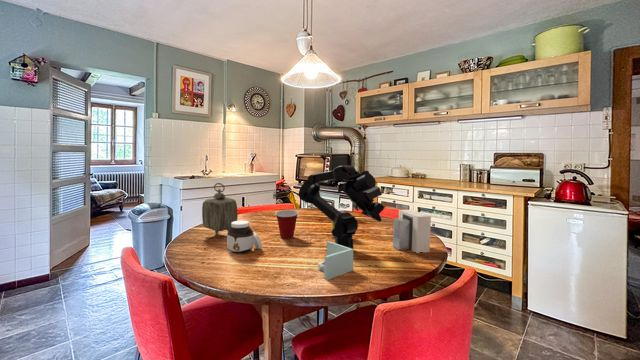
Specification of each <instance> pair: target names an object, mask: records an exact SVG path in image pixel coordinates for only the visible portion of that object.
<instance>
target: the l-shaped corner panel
mask: <svg viewBox="0 0 640 360" xmlns="http://www.w3.org/2000/svg"><path fill="white" fill-rule="evenodd" d="M353 251H354V248H353V249H351V248H348V247H345V246H342V245H339V244H336V243H335V242H333V241H326V255H325V256H324V260H323V261H321V262H318V264H317V268H318V270H319V271H321V272H322V273H324V274H323V275H324V277H323V278H324V280H326V281H328V280H331V279H333V278H336V277H339V276H342V275H344V274H348V273H349V272H352V271H354V252H353Z"/></svg>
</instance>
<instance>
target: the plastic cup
mask: <svg viewBox="0 0 640 360" xmlns="http://www.w3.org/2000/svg"><path fill="white" fill-rule="evenodd" d="M299 213H300V212H299V211H297V210H295V209H294V210H293V209H284V210H283V209H282V210H278V211H276V212H275V213H274V215H275V216H276V220H277V224H278V230H279V231H278V232H279V236H280V238H281V239H283V240H290V239H293V238H294V236H295V230H296V224H297V219H298V215H299Z"/></svg>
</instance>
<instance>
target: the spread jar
mask: <svg viewBox="0 0 640 360" xmlns="http://www.w3.org/2000/svg"><path fill="white" fill-rule="evenodd" d="M226 245H227V248H228V250H229V252H230V253H232V254H235V255H244V254H247V253H249V252H250V251H252V250H253V248H254V247H255V248H256V250H260V249H261V248H263V243H262V240H261V238H260V236H259V235H258V234H257V233H256V232H254V231H253V229H252V227H250V221H248V220H237V221H234V222H232V223H231V228H230V229H229V231H227V233H226Z"/></svg>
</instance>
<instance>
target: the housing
mask: <svg viewBox="0 0 640 360" xmlns="http://www.w3.org/2000/svg"><path fill="white" fill-rule="evenodd" d="M398 218H409V219H411V246H410V249H409V250H410V251H412V252H413V251H414V253H415V252H416V253H415V254H420V252H423V253H430V248H431V247H430V246H431V244H430V242H431V227H432V225H431V223H432V219H431V218H432V217H431V215H429V214H426V213H422V212H419V211H417V210H413V209H399V210H398Z"/></svg>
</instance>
